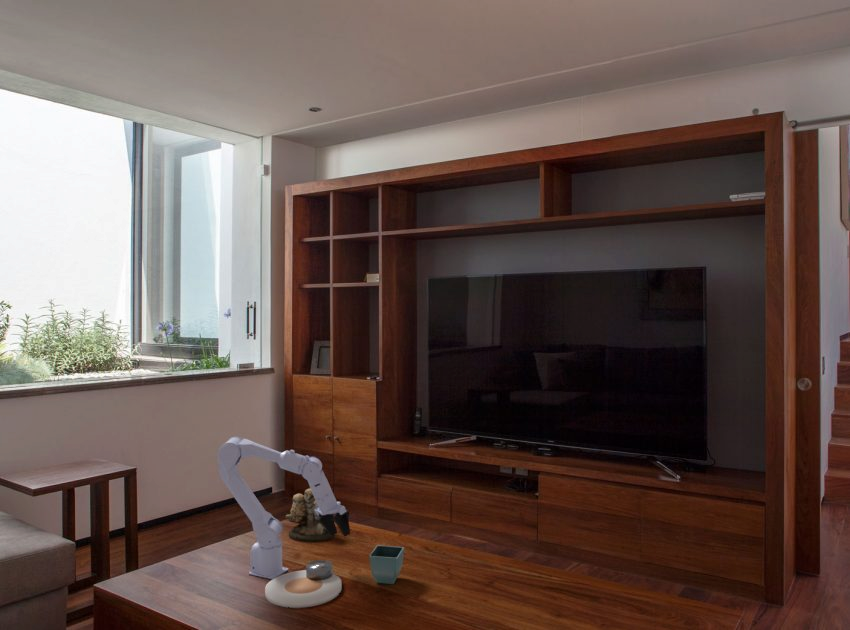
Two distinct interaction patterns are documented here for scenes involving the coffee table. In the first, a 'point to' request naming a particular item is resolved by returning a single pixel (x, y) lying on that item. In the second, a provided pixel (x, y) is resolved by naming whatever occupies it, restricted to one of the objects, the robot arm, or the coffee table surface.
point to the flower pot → (386, 563)
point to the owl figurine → (306, 519)
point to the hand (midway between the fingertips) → (340, 534)
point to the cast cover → (319, 570)
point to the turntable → (301, 590)
